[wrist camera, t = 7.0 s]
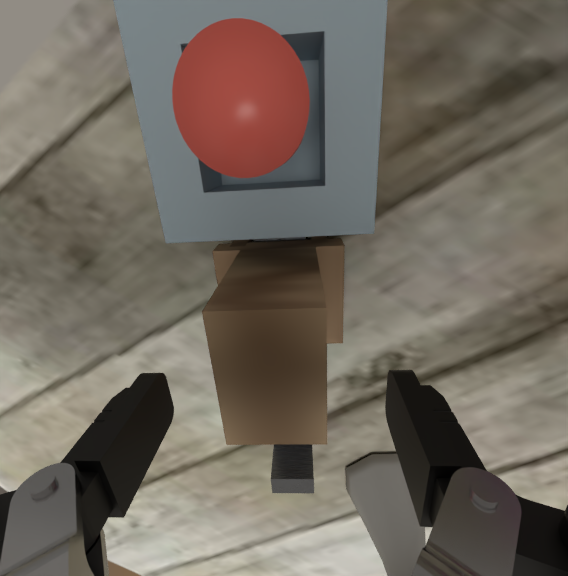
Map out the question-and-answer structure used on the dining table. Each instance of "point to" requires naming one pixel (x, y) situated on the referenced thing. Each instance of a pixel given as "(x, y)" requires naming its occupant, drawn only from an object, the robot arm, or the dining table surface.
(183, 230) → the button housing
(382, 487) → the flask
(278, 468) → the rail
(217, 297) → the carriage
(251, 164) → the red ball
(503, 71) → the dining table surface
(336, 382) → the dining table surface
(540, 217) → the dining table surface
